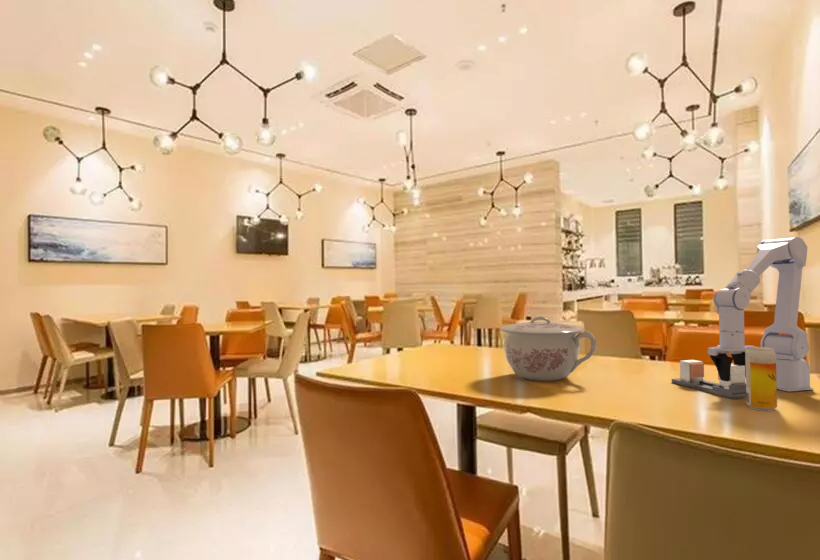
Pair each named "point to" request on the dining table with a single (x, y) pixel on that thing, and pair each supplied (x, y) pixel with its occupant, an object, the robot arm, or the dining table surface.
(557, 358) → the chamber pot
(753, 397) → the beer can
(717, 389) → the rail
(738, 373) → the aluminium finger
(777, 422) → the dining table surface
